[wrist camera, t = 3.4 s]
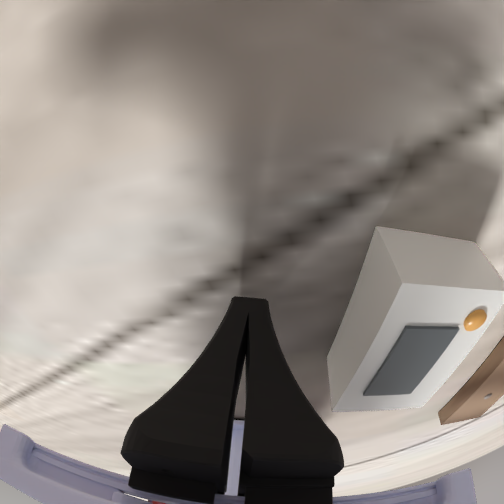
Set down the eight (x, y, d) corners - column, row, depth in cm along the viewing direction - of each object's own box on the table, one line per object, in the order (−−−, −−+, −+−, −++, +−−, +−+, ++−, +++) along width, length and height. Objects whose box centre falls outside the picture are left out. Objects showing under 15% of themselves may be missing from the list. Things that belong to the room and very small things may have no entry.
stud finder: (407, 355, 16) (422, 409, 13) (326, 354, 16) (331, 414, 13) (472, 238, 11) (512, 294, 8) (374, 222, 11) (403, 286, 8)
